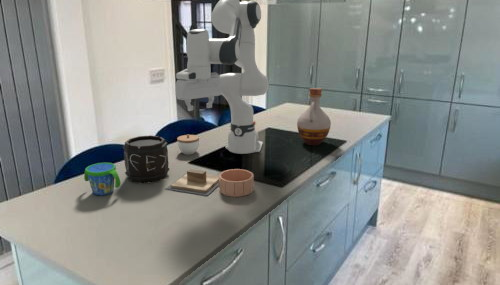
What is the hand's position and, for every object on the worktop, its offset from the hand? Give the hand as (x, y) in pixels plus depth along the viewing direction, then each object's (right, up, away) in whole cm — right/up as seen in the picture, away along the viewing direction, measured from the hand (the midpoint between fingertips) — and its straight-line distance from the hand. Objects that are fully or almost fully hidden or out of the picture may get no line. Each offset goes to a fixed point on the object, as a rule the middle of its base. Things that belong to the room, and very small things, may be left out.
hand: (200, 109), depth 145 cm
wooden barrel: (-23, -28, +12) cm, 38 cm away
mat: (-2, -30, +4) cm, 30 cm away
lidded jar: (-11, -18, +42) cm, 47 cm away
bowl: (+14, -31, -1) cm, 34 cm away
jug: (+53, -14, +57) cm, 79 cm away
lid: (-2, -29, +4) cm, 30 cm away
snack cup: (-36, -32, -3) cm, 49 cm away
